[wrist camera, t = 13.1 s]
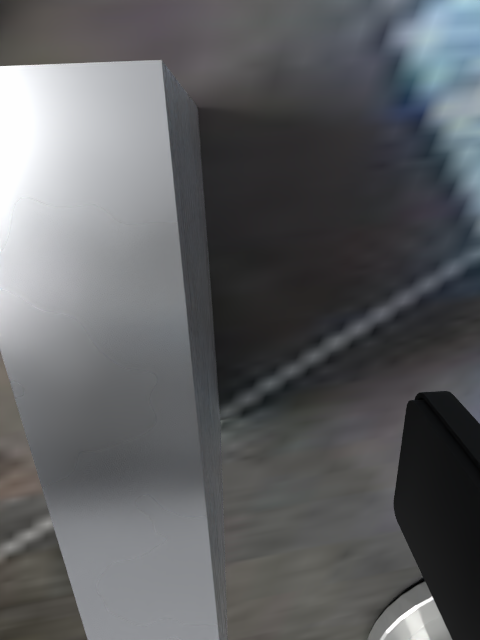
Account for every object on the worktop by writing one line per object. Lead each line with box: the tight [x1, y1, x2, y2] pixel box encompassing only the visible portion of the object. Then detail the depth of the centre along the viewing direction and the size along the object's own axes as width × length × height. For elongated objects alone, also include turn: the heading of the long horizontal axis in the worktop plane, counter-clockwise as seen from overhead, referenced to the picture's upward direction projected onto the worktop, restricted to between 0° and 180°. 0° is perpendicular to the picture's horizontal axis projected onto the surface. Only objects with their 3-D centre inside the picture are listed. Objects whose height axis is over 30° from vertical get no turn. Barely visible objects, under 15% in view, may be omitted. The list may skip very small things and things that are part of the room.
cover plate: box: [0, 60, 228, 640], centre depth 11 cm, size 2×12×11 cm, turn 2°
